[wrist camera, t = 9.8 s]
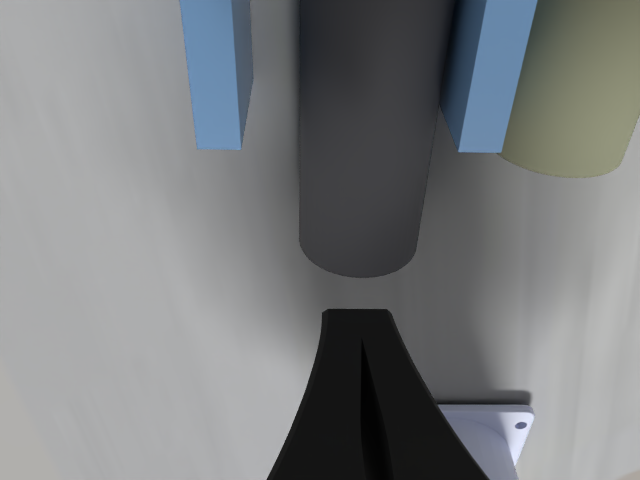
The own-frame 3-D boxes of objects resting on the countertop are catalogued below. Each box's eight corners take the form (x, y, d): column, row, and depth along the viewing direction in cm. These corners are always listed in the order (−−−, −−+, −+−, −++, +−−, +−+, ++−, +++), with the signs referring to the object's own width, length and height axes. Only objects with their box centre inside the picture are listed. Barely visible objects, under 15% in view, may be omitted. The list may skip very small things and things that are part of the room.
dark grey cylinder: (385, 197, 20) (437, 262, 18) (284, 216, 19) (323, 289, 17) (424, -156, 14) (514, -136, 12) (278, -155, 13) (339, -132, 11)
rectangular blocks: (877, 88, 17) (1003, 158, 14) (217, 77, 17) (196, 149, 14) (973, -64, 15) (1151, -19, 12) (203, -82, 14) (175, -39, 11)
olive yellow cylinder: (602, 117, 18) (640, 183, 15) (479, 108, 18) (493, 172, 15) (683, -117, 14) (753, -89, 11) (526, -124, 14) (556, -98, 12)
